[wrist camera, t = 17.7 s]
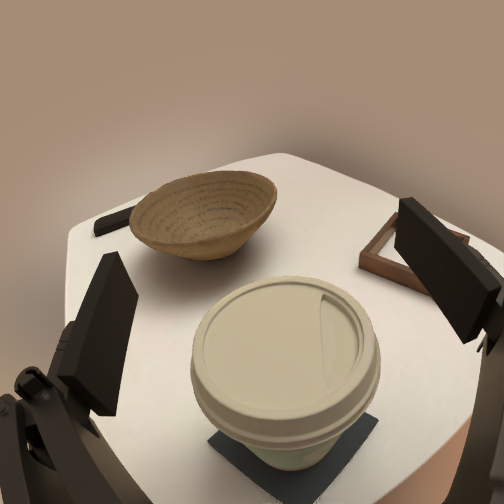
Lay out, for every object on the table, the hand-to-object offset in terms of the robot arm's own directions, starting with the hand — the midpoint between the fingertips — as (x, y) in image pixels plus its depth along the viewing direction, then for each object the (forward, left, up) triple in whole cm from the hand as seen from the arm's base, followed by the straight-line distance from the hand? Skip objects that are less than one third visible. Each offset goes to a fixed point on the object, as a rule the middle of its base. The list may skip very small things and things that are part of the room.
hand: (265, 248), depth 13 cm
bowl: (+21, -11, -15) cm, 28 cm away
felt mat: (-3, +2, -15) cm, 15 cm away
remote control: (+43, -9, -15) cm, 46 cm away
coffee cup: (-3, +2, -14) cm, 15 cm away
